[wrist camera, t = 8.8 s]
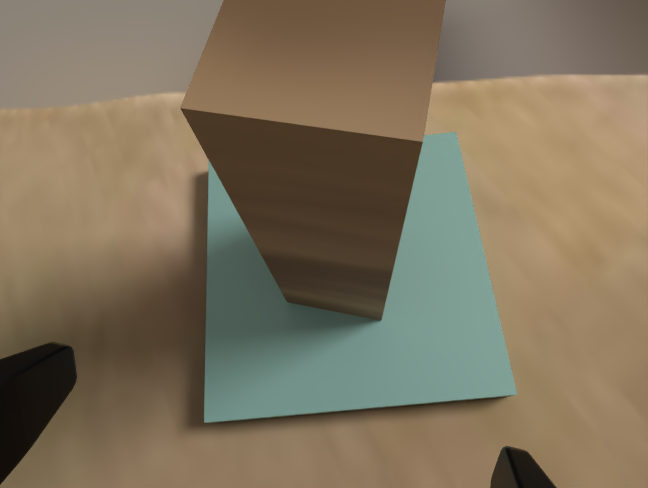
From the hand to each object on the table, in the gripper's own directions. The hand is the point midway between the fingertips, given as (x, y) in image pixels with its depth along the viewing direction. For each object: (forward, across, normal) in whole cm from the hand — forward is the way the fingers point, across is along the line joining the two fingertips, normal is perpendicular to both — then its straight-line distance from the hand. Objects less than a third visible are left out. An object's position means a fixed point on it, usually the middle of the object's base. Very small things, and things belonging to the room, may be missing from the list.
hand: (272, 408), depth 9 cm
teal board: (+12, 0, +2) cm, 12 cm away
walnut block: (+11, 0, +2) cm, 11 cm away
